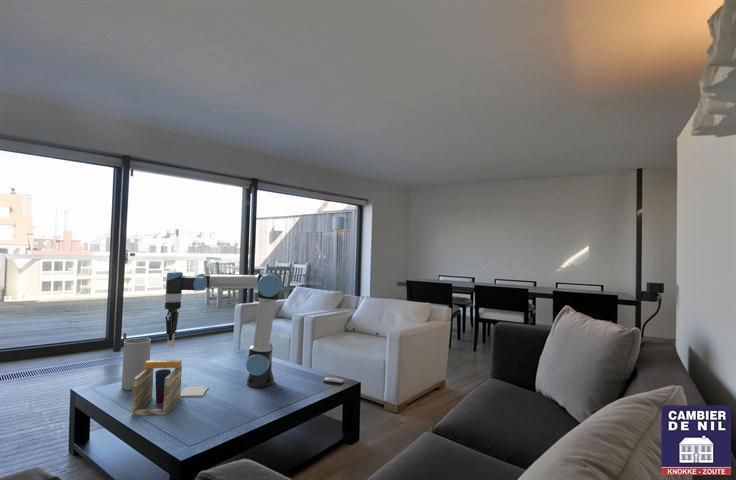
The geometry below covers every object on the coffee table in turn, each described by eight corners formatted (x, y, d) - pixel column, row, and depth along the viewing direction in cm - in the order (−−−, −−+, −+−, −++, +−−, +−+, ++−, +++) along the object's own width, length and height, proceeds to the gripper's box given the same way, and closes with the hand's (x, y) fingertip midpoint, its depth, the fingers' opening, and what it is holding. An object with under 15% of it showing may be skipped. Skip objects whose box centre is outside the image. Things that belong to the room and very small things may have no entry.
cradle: (180, 397, 194) (181, 365, 194) (166, 414, 175) (168, 378, 176) (148, 398, 192) (150, 365, 192) (131, 415, 173) (133, 378, 173)
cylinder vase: (116, 388, 203) (118, 341, 203) (138, 380, 215) (140, 336, 215) (132, 392, 198) (134, 344, 199) (153, 384, 210) (156, 339, 210)
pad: (208, 388, 208) (208, 386, 208) (202, 396, 197) (202, 395, 197) (185, 388, 207) (185, 386, 207) (177, 397, 195) (178, 395, 195)
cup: (172, 400, 191) (174, 370, 191) (161, 405, 185) (162, 374, 185) (162, 397, 193) (163, 368, 194) (150, 402, 187) (152, 372, 187)
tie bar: (181, 366, 192) (181, 360, 192) (179, 368, 189) (179, 362, 189) (147, 366, 189) (147, 360, 190) (144, 368, 187) (145, 362, 187)
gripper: (170, 299, 205) (167, 342, 205) (160, 302, 192) (158, 349, 192) (184, 299, 206) (182, 342, 206) (176, 303, 193) (173, 349, 193)
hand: (170, 346), depth 199 cm, fingers closed
